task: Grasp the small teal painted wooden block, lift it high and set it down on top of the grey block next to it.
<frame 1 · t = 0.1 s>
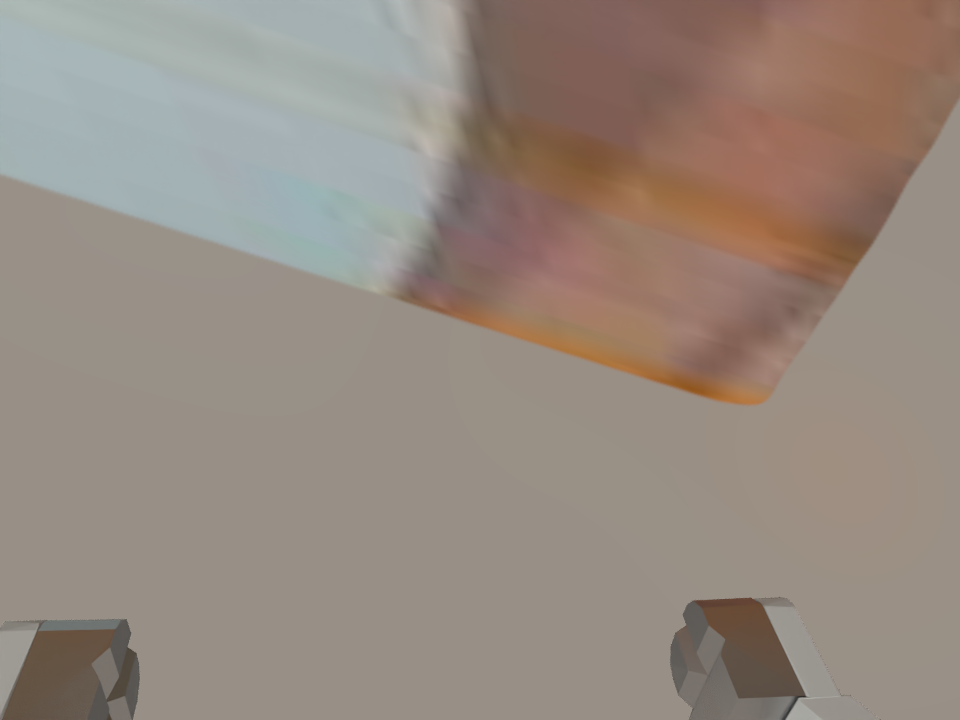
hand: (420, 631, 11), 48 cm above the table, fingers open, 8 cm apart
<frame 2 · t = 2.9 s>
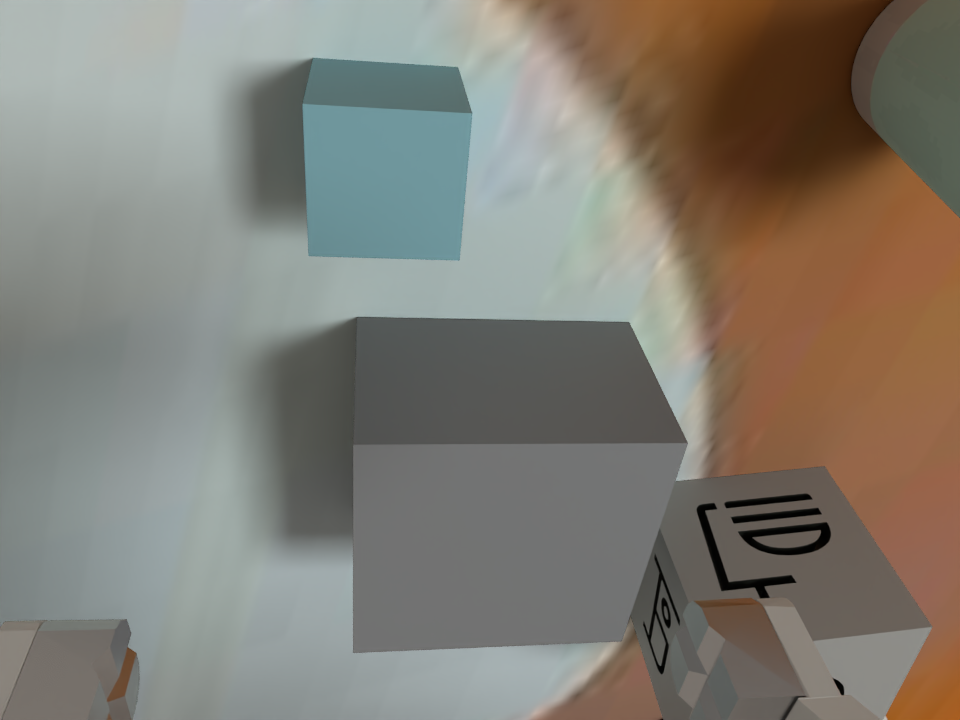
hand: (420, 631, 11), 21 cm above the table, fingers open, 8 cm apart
coffee cup: (923, 55, 29), on the table
teal block: (385, 132, 28), on the table
icon cube: (718, 535, 44), on the table
grey block: (483, 425, 37), on the table
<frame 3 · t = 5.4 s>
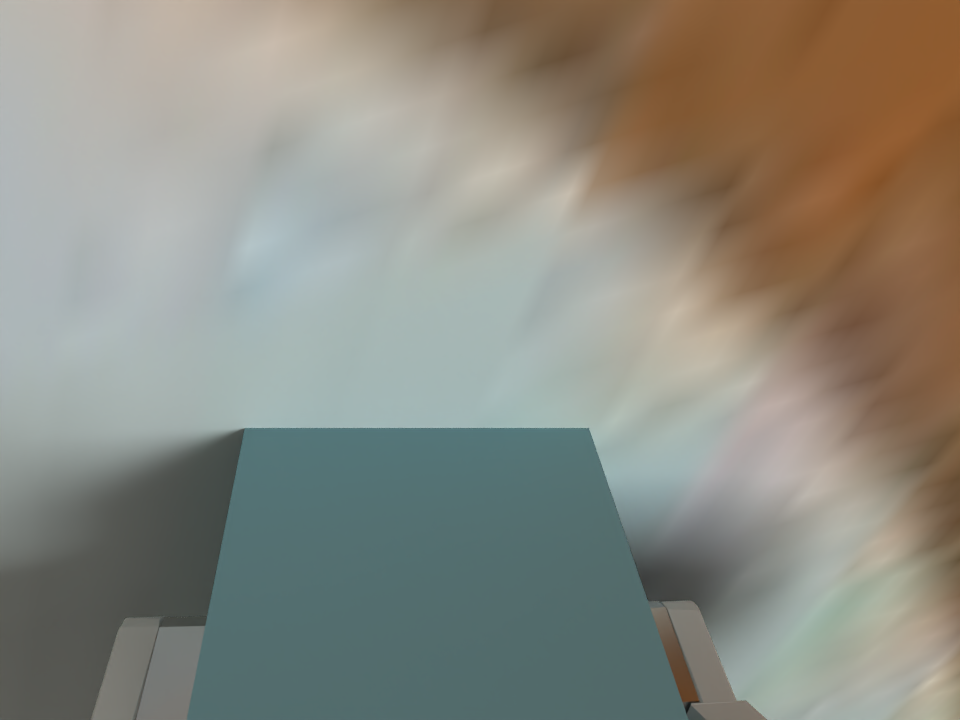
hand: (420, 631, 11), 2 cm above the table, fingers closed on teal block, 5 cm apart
teal block: (414, 539, 13), on the table, touching gripper
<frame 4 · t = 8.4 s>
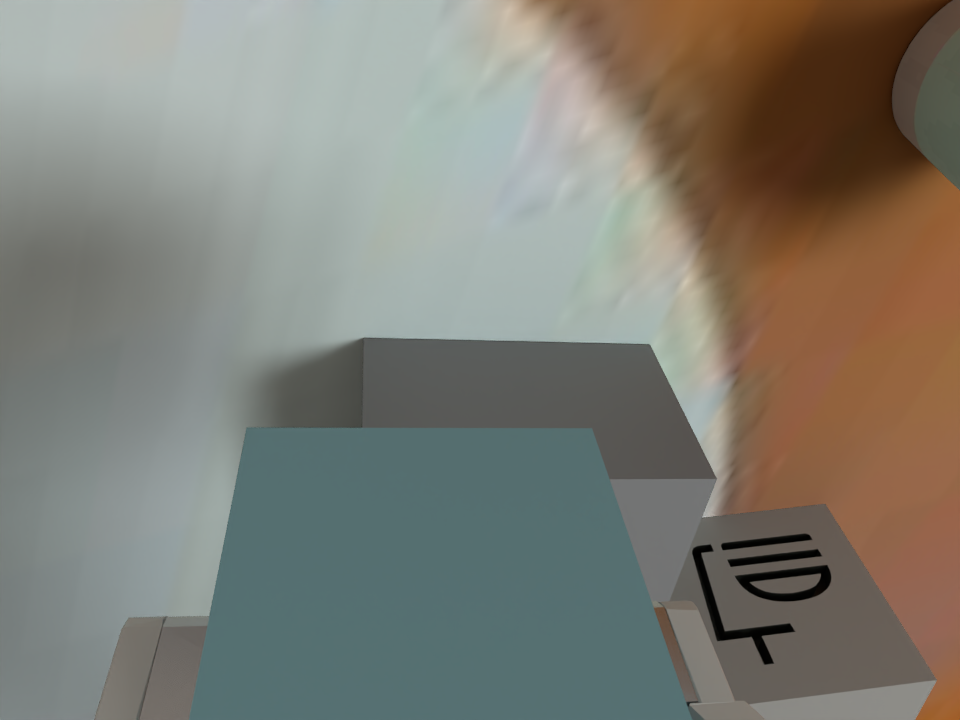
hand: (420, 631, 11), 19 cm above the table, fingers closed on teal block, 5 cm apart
teal block: (416, 543, 13), point 17 cm above the table, touching gripper
icon cube: (716, 573, 43), on the table
grey block: (494, 449, 35), on the table
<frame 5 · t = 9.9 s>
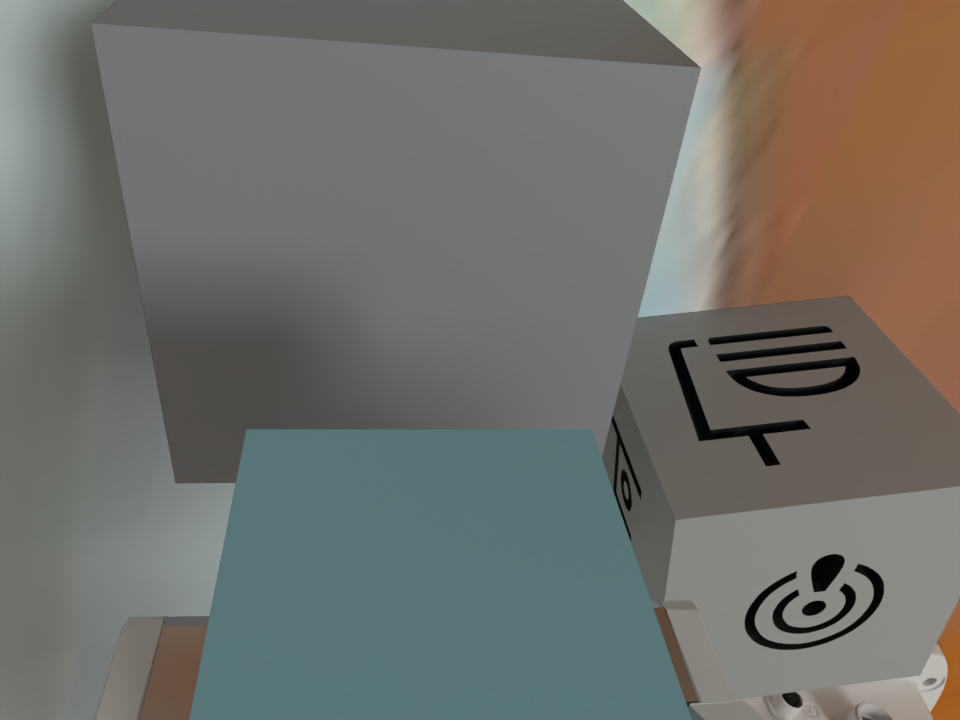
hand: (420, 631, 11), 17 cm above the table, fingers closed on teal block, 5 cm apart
teal block: (416, 545, 13), point 16 cm above the table, touching gripper
icon cube: (706, 405, 33), on the table
grey block: (395, 174, 25), on the table
when the fingers open (11 cm above the table, at t = 11.3 s): teal block drops 1 cm, resting on grey block.
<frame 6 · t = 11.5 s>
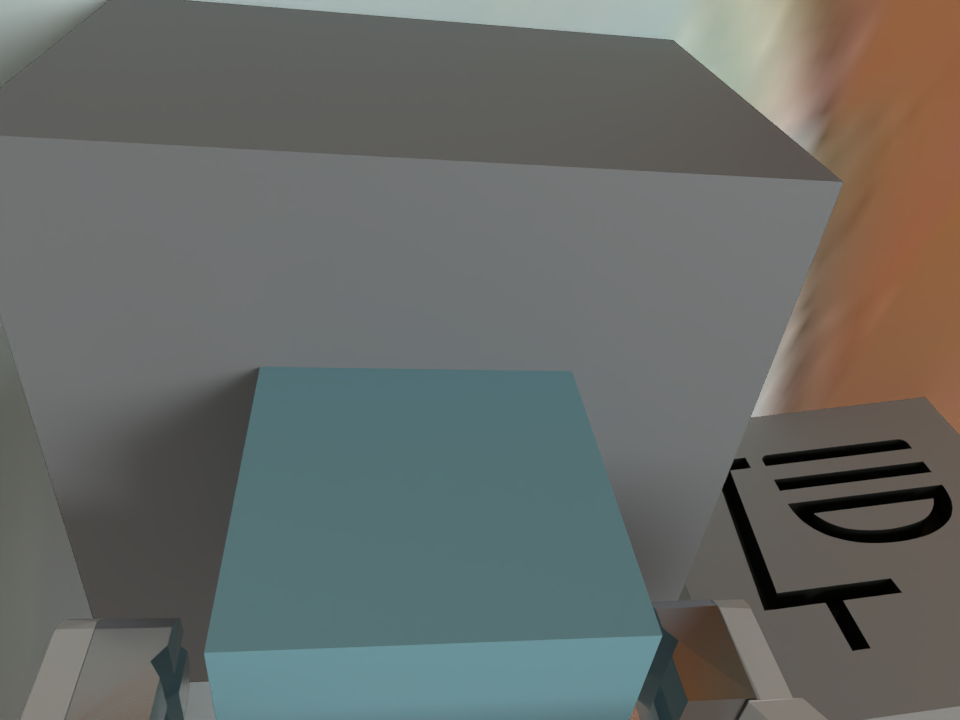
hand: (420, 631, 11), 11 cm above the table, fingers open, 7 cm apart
teal block: (412, 480, 14), point 8 cm above the table, touching grey block
icon cube: (750, 514, 28), on the table
grey block: (398, 262, 20), on the table
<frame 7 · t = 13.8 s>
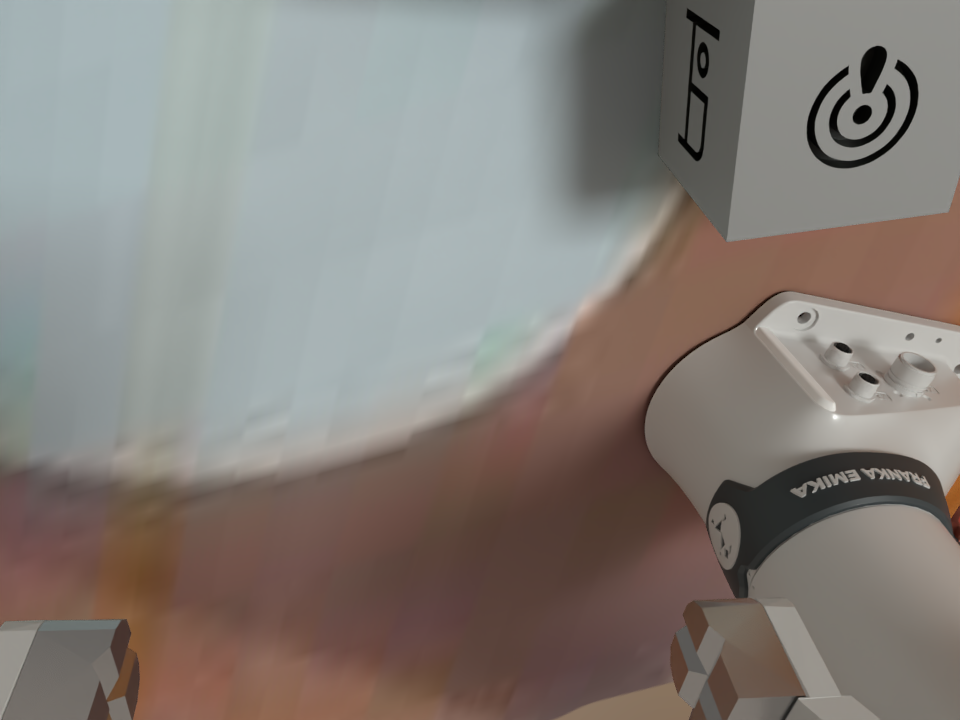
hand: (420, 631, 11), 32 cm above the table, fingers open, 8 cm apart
icon cube: (759, 46, 39), on the table
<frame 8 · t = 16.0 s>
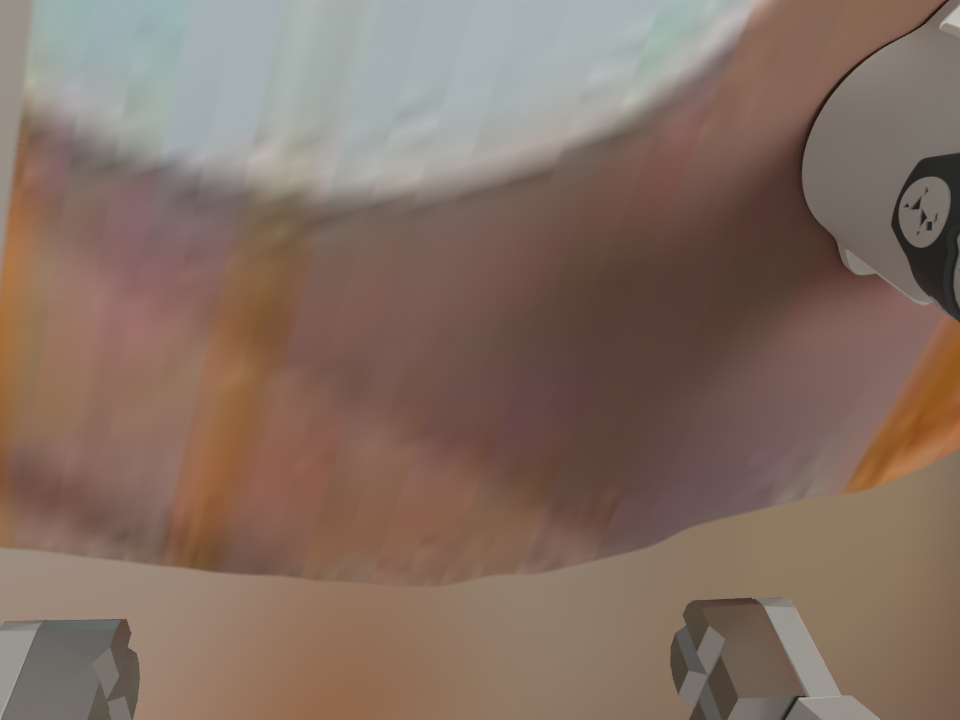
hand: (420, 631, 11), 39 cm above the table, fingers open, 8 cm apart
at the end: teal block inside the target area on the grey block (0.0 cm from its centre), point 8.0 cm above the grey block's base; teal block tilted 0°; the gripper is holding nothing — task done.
